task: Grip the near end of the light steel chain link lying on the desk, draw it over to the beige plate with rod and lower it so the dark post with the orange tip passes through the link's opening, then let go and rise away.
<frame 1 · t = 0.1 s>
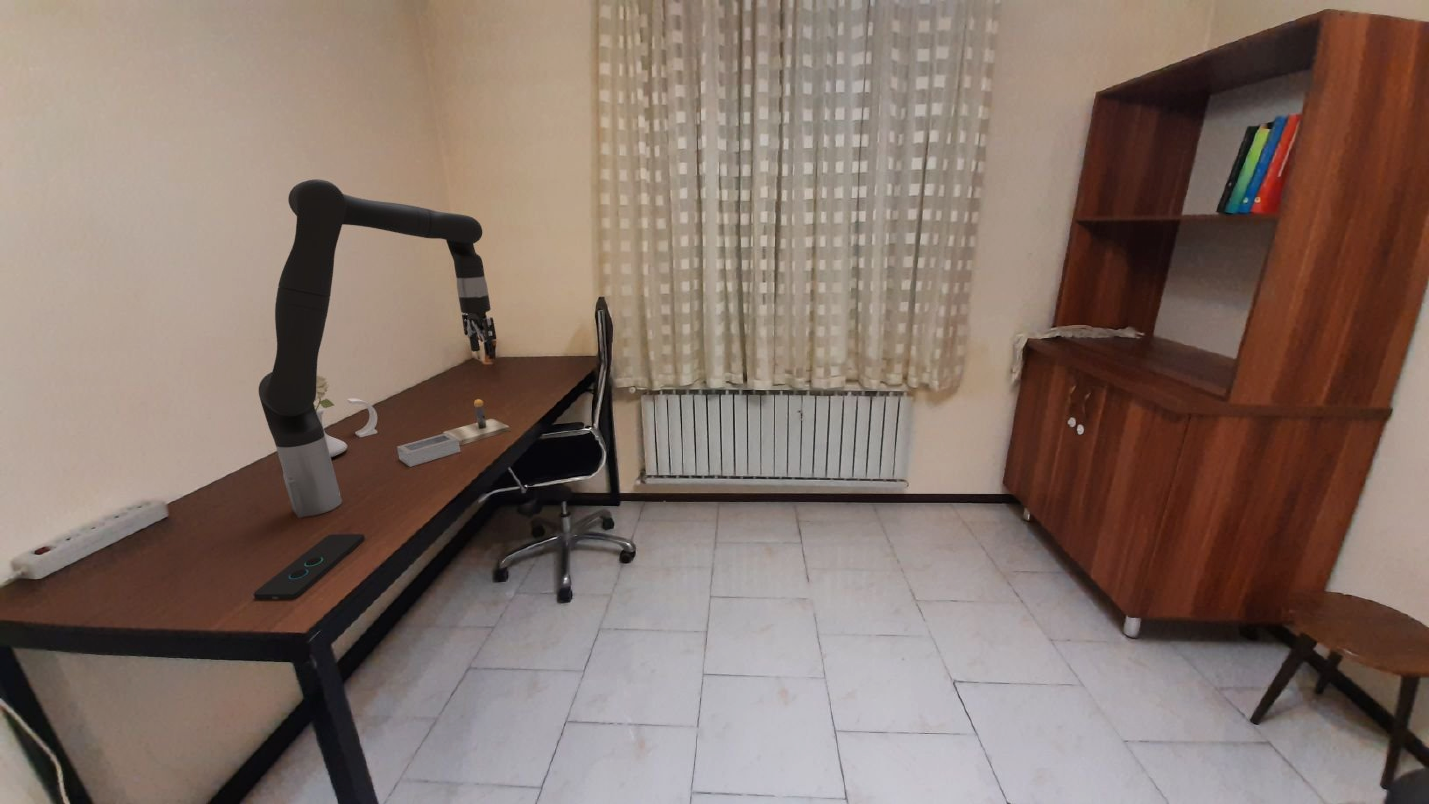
hand: (482, 353, 154), 29 cm above the table, tool pointing down, fingers open, 8 cm apart
steel link: (430, 455, 160), on the table
flower in vase: (328, 456, 162), on the table
headphone stand: (368, 433, 180), on the table
beige plate with rod: (477, 433, 176), on the table
smart home device: (315, 569, 108), on the table
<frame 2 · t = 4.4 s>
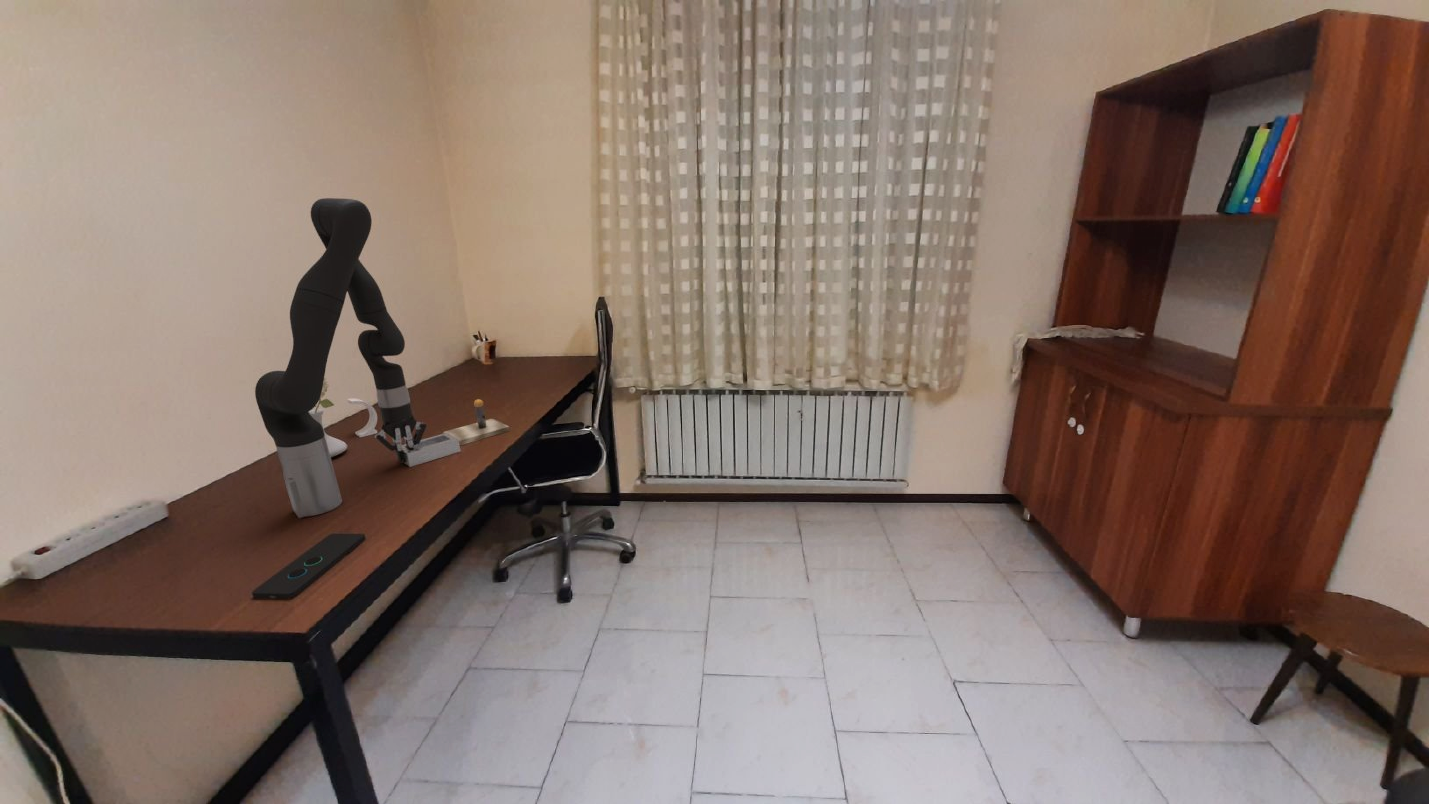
hand: (407, 460, 156), 1 cm above the table, tool pointing down, fingers closed on steel link
steel link: (430, 455, 160), on the table, touching gripper
everything else where it was.
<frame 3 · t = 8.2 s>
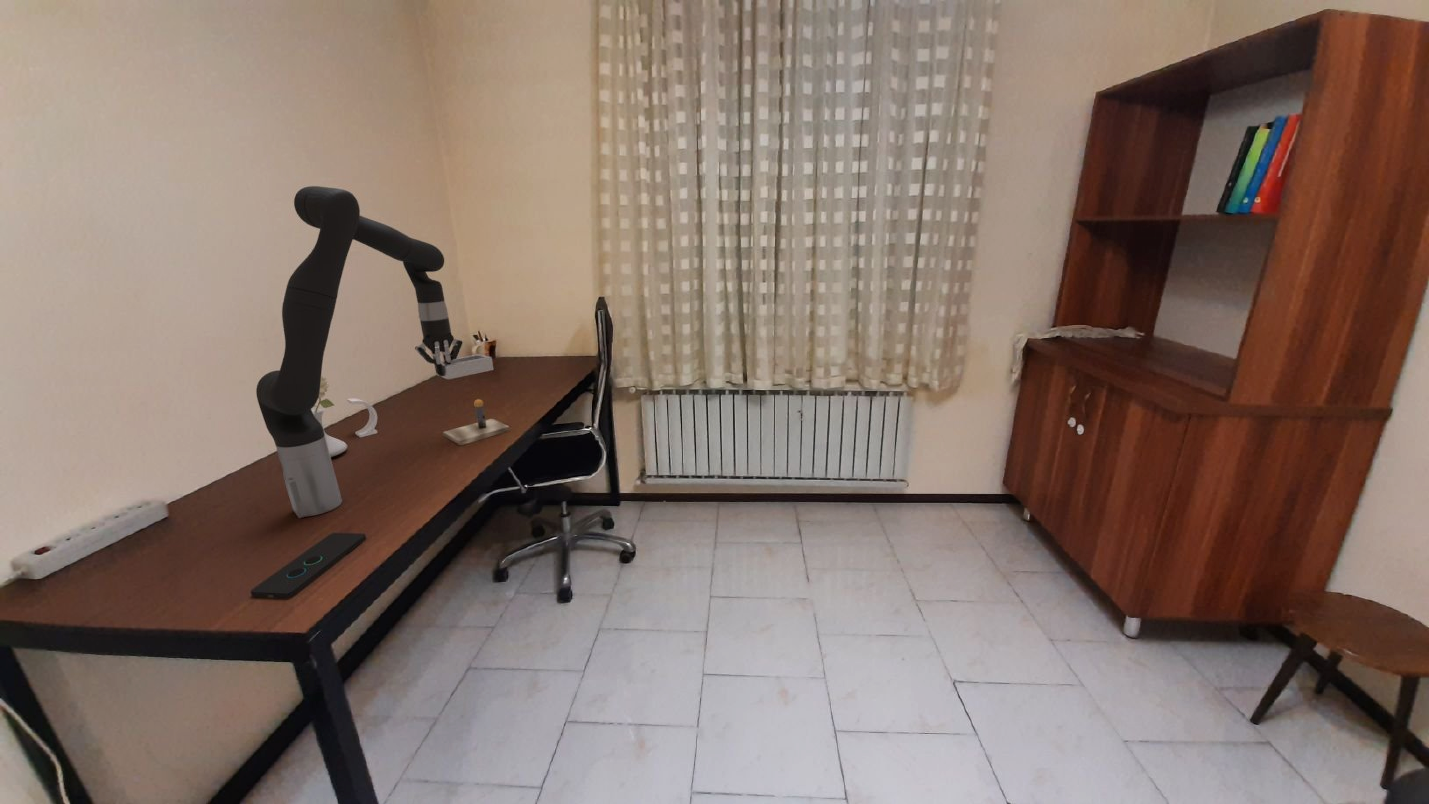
hand: (444, 375, 165), 21 cm above the table, tool pointing down, fingers closed on steel link
steel link: (465, 372, 170), point 20 cm above the table, touching gripper
everything else where it was.
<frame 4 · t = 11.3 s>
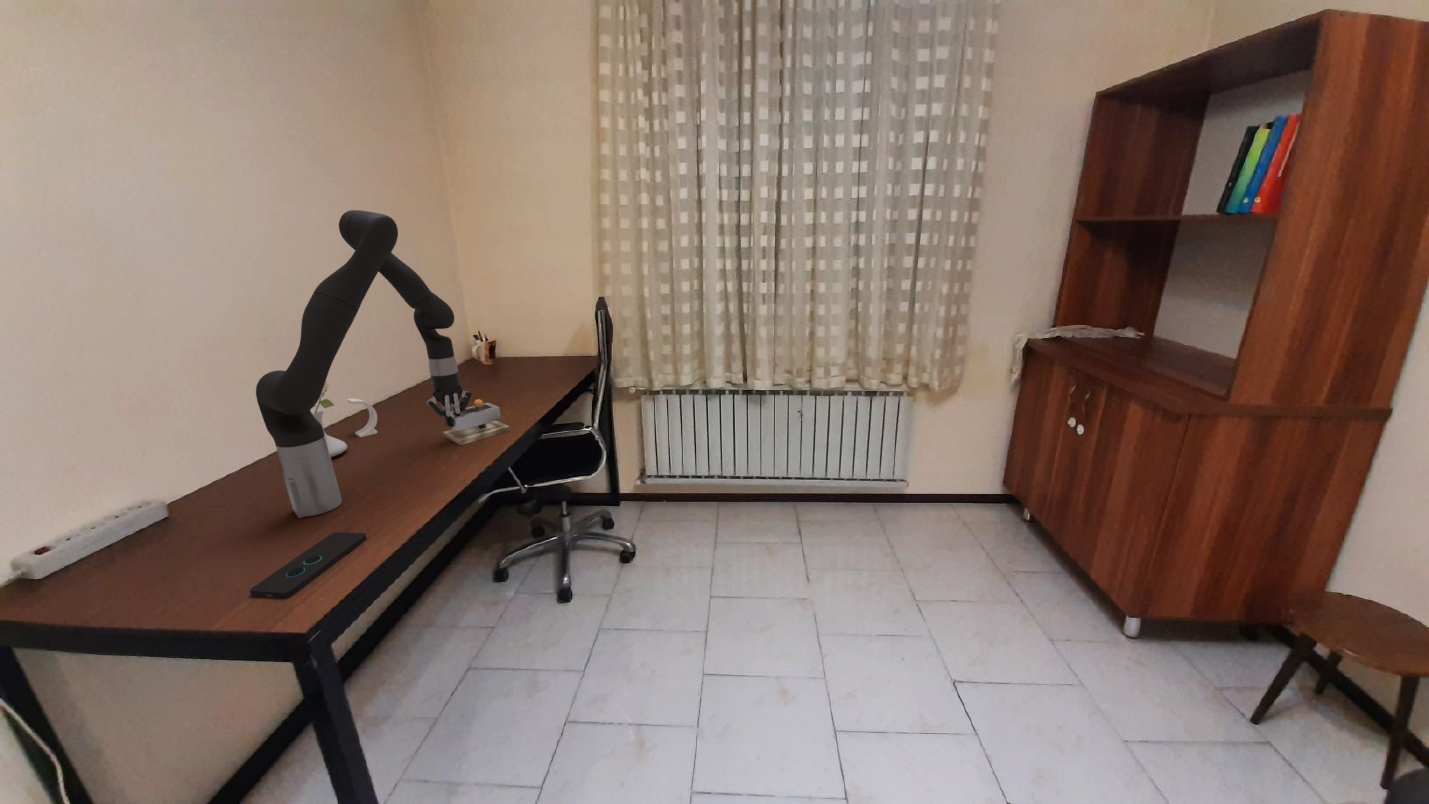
hand: (454, 425, 170), 5 cm above the table, tool pointing down, fingers closed on steel link
steel link: (474, 422, 175), point 4 cm above the table, touching gripper
everything else where it was.
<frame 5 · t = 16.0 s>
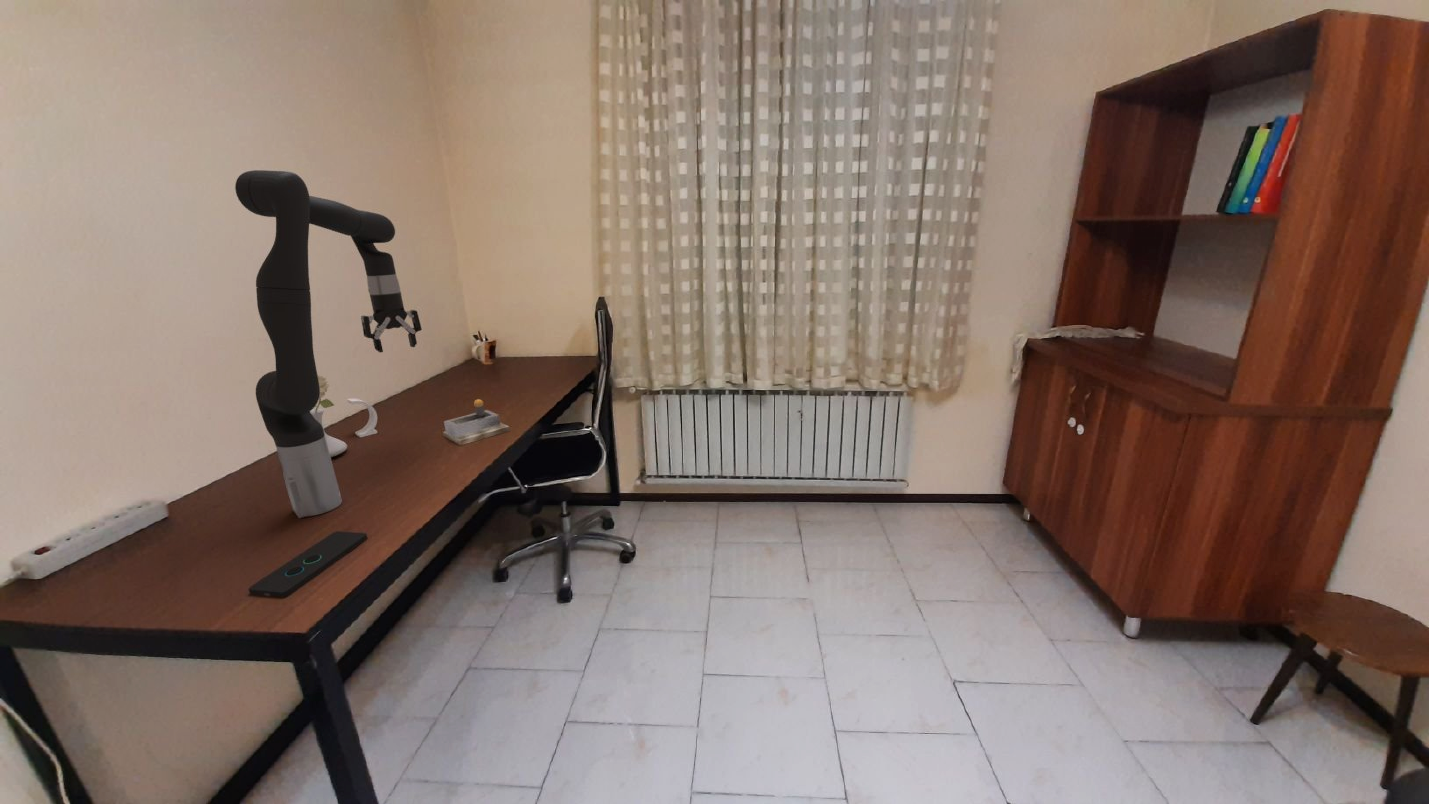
hand: (397, 349, 157), 30 cm above the table, tool pointing down, fingers open, 8 cm apart
steel link: (473, 429, 175), point 1 cm above the table, touching beige plate with rod
at the end: steel link 2.4 cm from the target spot on the beige plate with rod, point 1.5 cm above the beige plate with rod's base; steel link tilted 0°; the gripper is holding nothing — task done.
